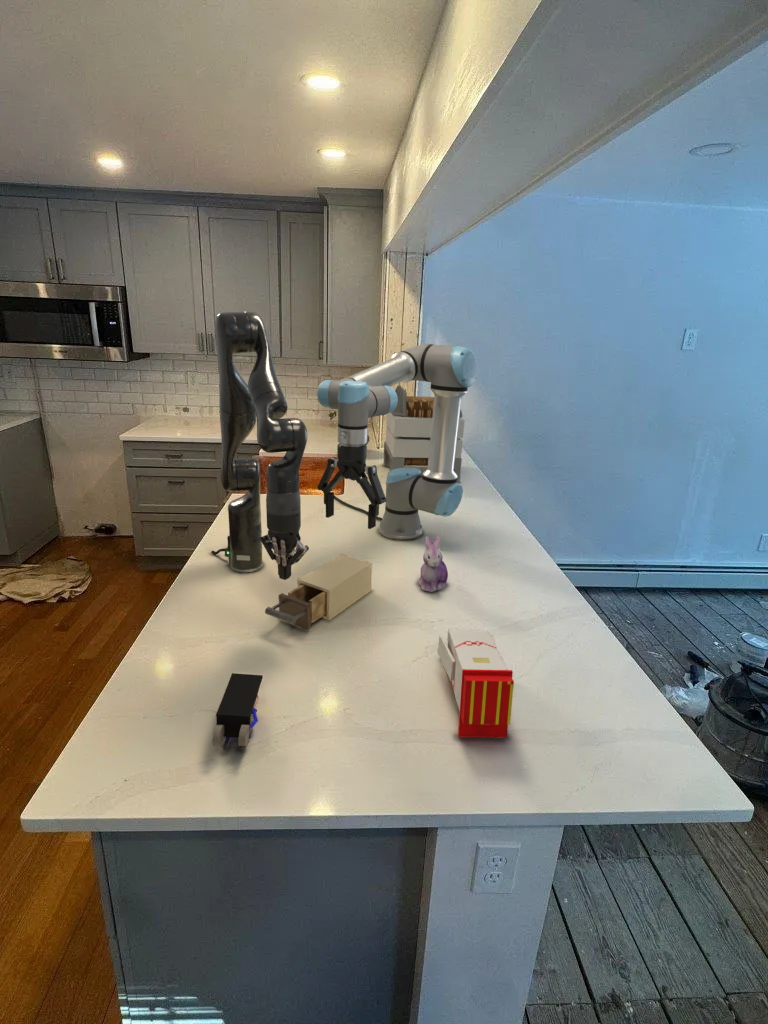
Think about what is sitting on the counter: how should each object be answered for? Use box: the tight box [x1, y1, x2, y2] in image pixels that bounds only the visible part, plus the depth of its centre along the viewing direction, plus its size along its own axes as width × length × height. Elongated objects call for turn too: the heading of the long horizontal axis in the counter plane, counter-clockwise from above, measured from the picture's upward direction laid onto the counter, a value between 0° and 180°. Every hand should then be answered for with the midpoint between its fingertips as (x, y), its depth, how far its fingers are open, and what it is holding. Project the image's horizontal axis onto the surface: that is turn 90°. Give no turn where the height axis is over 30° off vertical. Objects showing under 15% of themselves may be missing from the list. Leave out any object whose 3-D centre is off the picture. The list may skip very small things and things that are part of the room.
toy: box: [437, 628, 515, 738], centre depth 117 cm, size 12×13×30 cm
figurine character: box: [211, 672, 264, 751], centre depth 104 cm, size 7×8×15 cm
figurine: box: [418, 535, 449, 593], centre depth 161 cm, size 9×10×15 cm
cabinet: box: [296, 553, 373, 621], centre depth 152 cm, size 20×10×9 cm, turn 149°
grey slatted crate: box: [383, 384, 465, 484], centre depth 268 cm, size 34×33×41 cm
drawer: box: [264, 584, 327, 631], centre depth 143 cm, size 24×9×7 cm, turn 149°
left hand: (284, 578), depth 132 cm, fingers closed
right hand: (350, 521), depth 151 cm, fingers open, 13 cm apart
